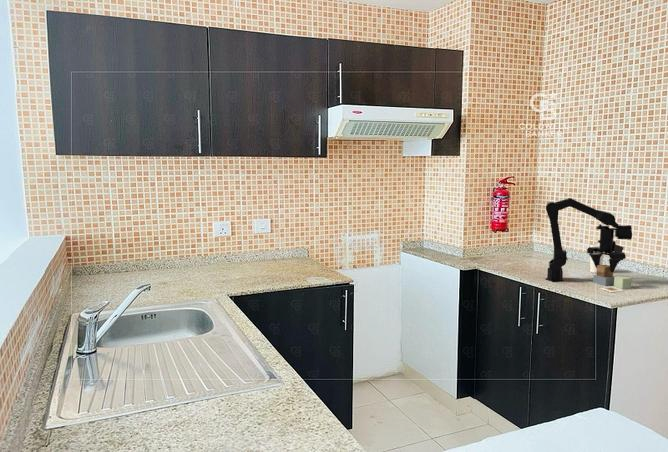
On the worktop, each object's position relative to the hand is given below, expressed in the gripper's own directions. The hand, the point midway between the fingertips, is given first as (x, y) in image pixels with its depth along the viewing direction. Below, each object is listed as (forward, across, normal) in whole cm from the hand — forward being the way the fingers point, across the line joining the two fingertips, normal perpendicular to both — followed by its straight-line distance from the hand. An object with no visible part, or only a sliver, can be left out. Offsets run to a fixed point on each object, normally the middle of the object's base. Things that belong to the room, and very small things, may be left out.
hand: (604, 270), depth 243 cm
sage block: (+7, -9, -2) cm, 11 cm away
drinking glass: (+7, +21, -14) cm, 26 cm away
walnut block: (+3, 0, 0) cm, 3 cm away
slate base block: (+7, 0, 0) cm, 7 cm away
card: (+6, -11, +6) cm, 14 cm away
